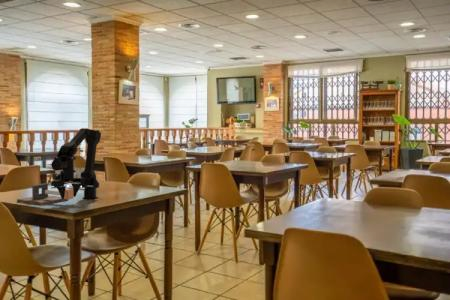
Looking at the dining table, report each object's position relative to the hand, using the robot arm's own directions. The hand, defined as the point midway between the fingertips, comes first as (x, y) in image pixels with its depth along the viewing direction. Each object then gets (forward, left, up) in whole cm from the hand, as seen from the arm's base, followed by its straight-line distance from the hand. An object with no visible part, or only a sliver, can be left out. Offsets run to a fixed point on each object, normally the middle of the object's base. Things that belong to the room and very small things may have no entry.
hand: (68, 197), depth 257 cm
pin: (0, -8, 0) cm, 8 cm away
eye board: (0, -19, -4) cm, 19 cm away
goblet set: (-50, -49, -4) cm, 70 cm away
